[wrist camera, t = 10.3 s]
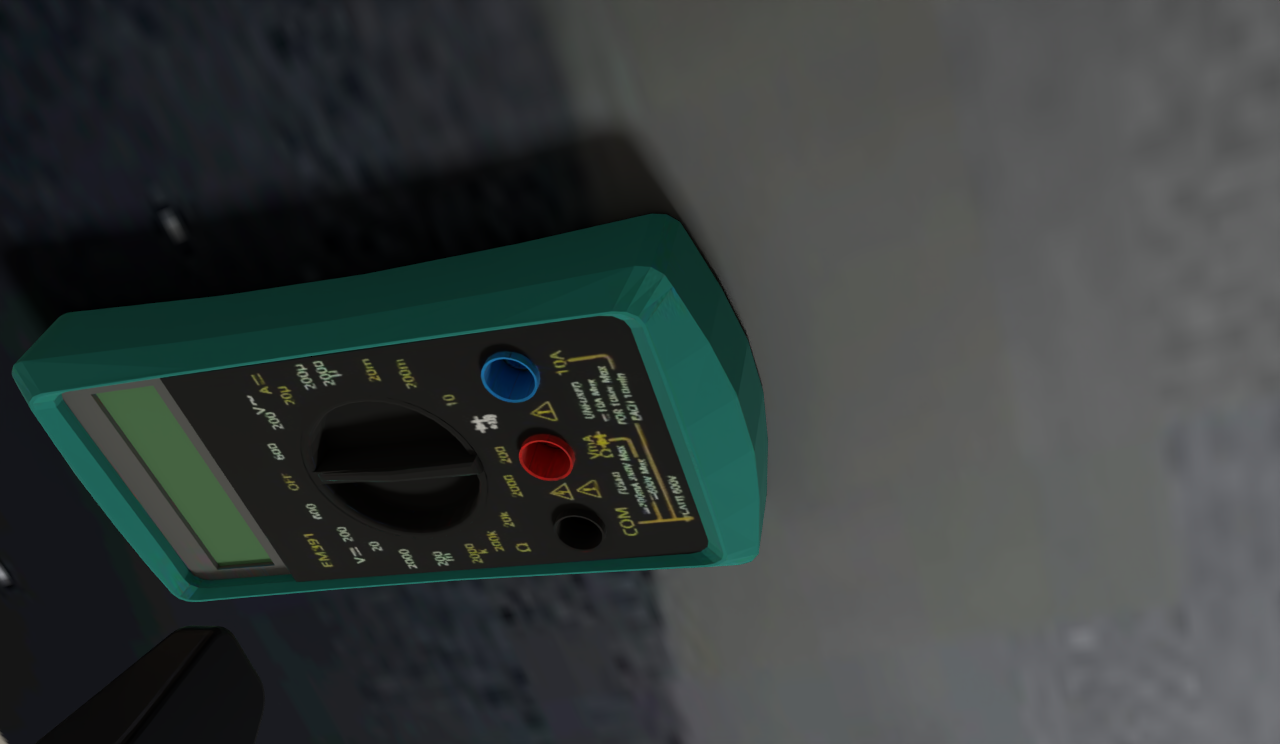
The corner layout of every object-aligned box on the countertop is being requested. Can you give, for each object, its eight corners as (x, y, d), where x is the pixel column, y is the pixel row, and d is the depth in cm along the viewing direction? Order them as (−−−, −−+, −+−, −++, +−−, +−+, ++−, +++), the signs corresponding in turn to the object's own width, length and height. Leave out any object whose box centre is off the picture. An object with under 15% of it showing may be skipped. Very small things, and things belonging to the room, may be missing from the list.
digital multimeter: (798, 484, 25) (787, 589, 23) (220, 535, 30) (162, 626, 28) (711, 186, 21) (687, 278, 19) (56, 299, 26) (-27, 384, 23)
